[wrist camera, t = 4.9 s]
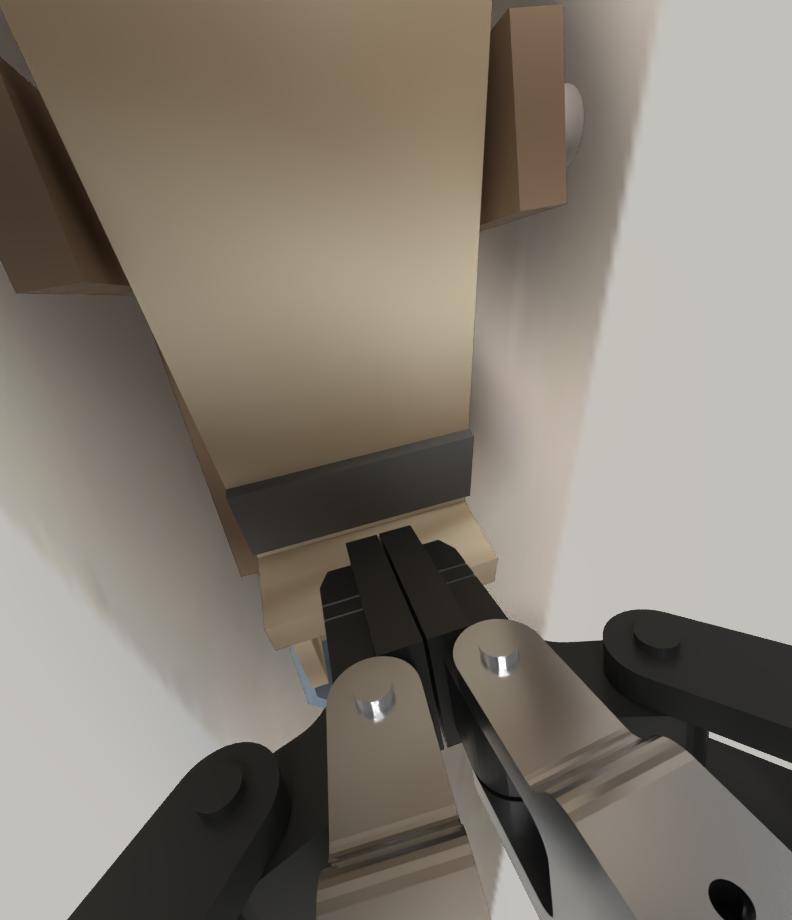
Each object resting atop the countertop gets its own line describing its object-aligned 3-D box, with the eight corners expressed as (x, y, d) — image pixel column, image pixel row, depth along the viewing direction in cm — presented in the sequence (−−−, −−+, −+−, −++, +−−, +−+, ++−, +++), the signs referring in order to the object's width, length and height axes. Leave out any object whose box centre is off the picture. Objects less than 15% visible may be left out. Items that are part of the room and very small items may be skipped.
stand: (39, -7, 11) (-648, -900, 3) (389, -27, 13) (606, -641, 4) (243, 562, 17) (214, 797, 9) (457, 502, 19) (596, 658, 11)
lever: (-120, -334, 4) (-583, -890, 2) (461, -303, 5) (674, -624, 3) (295, 615, 15) (309, 711, 13) (446, 569, 16) (483, 650, 14)
